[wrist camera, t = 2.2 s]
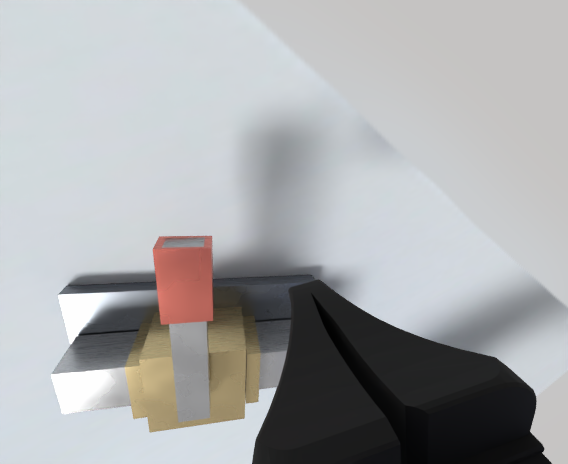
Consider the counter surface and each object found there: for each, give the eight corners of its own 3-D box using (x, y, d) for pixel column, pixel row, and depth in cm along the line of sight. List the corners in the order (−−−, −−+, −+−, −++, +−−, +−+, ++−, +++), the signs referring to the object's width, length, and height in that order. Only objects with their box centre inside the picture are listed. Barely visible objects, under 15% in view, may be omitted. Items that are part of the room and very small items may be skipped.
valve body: (311, 275, 21) (336, 318, 17) (300, 367, 25) (319, 424, 20) (66, 285, 18) (13, 343, 13) (91, 391, 21) (55, 466, 17)
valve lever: (216, 401, 17) (215, 428, 15) (177, 406, 16) (172, 435, 15) (212, 233, 13) (211, 248, 12) (160, 233, 13) (152, 249, 11)
